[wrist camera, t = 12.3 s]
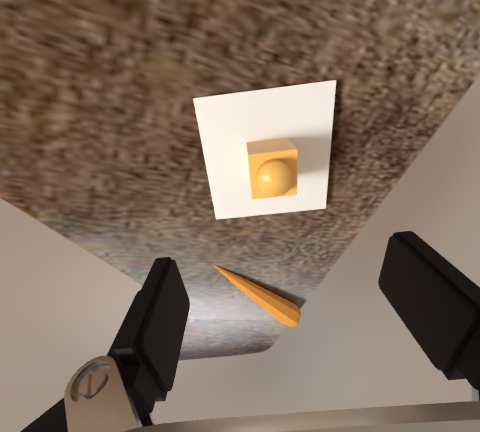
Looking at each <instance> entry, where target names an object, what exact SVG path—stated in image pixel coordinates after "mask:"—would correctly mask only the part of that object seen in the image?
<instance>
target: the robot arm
mask: <svg viewBox="0 0 480 432" xmlns="http://www.w3.org/2000/svg"><path fill="white" fill-rule="evenodd" d="M378 283H379V287H380V289H381V291H382V292H383V294H384V295H385V297H386V298H387V299H388V301H389V302H390V304H391V305H392V307H393V308H394V309H395V311H396V312H397V314H398V315H399V317H400V318H401V319H402V321H403V322H404V324H405V325H406V327H407V328H408V329H409V331H410V332H411V334H412V335H413V337H414V338H415V339H416V341H417V342H418V344H419V345H420V347H421V348H422V349H423V351H424V352H425V354H426V355H427V357H428V358H429V359H430V361H431V362H432V364H433V365H434V366H435V367H436V368H437V369H438V370H441V371H442V372H443V374H444V375H445V376H446V378H447V379H448V380H456V379H465V378H466V379H467V380H468V382H469V383H470V384H471V385H472V402H454V403H438V404H422V405H406V406H390V407H375V408H361V409H345V410H330V411H316V412H303V413H288V414H274V415H260V416H247V417H232V418H219V419H206V420H196V421H185V422H174V423H164V424H158V425H156V424H155V421H154V419H153V417H152V414H151V412H152V411H153V408H154V404H155V402H156V401H165V400H166V396H167V391H170V390H171V389H172V387H173V382H174V378H175V373H176V368H177V363H178V359H179V354H180V350H181V345H182V340H183V336H184V331H185V326H186V321H187V317H188V312H189V307H190V302H189V298H188V295H187V292H186V289H185V287H184V284H183V281H182V278H181V275H180V273H179V270H178V267H177V264H176V261H175V260H171V258H170V257H164V258H157V259H155V261H154V263H153V265H152V268H151V270H150V272H149V274H148V276H147V278H146V280H145V283H144V285H143V287H142V289H141V290H140V291H138V292H137V294H136V296H135V298H134V300H133V302H132V304H131V306H130V308H129V310H128V312H127V315H126V317H125V319H124V321H123V323H122V325H121V327H120V329H119V331H118V333H117V336H116V337H115V340H114V342H113V344H112V346H111V348H110V350H109V352H108V354H107V356H100V357H97V358H94V359H92V360H90V361H88V362H87V363H86V364H84V365H83V366H82V367H80V368H79V369H78V370H77V372H76V373H75V374H74V375H73V376H72V378H71V379H70V381H69V383H68V385H67V387H66V390H65V395H64V398H63V399H61V400H60V401H59V402H58V403H56V404H55V405H54V406H53V407H51V408H50V409H49V410H47V411H46V412H45V413H44V414H42V415H41V416H40V417H39V418H37V419H36V420H35V421H33V422H32V423H31V424H30V425H28V426H27V427H26V428H25V429H23V430H22V431H21V432H480V287H478V286H477V285H476V284H475V283H473V282H472V281H471V280H470V279H469V278H467V277H466V276H465V275H464V274H463V273H462V272H460V271H459V270H458V269H457V268H456V267H454V266H453V265H452V264H451V263H450V262H448V261H447V260H446V259H445V258H444V257H442V256H441V255H440V254H439V253H438V252H436V251H435V250H434V249H433V248H432V247H430V246H429V245H428V244H427V243H426V242H425V241H423V240H422V239H421V238H419V236H417V235H416V234H415V233H414V232H412V231H405V232H396V233H394V234H393V236H391V237H390V238H389V241H388V245H387V249H386V253H385V257H384V262H383V265H382V269H381V273H380V277H379V281H378Z"/></svg>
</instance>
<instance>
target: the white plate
mask: <svg viewBox="0 0 480 432" xmlns="http://www.w3.org/2000/svg"><path fill="white" fill-rule="evenodd" d="M335 89H336V80H332V81H324V82H316V83H308V84H301V85H293V86H285V87H277V88H270V89H262V90H254V91H246V92H239V93H231V94H223V95H215V96H207V97H200V98H193V100H194V105H195V110H196V116H197V121H198V126H199V132H200V137H201V142H202V147H203V153H204V158H205V163H206V168H207V174H208V179H209V184H210V189H211V195H212V200H213V205H214V210H215V216H216V219H225V218H235V217H245V216H255V215H265V214H275V213H285V212H295V211H305V210H315V209H325V208H326V198H327V186H328V174H329V162H330V150H331V137H332V125H333V113H334V101H335ZM280 138H287V139H288V140H289V141H290V142H291V143H292V144H293V145H294V146H295V147H296V148H297V149H298V159H297V195H288V196H279V197H270V198H261V199H252V193H251V185H250V176H249V166H248V156H247V146H246V143H247V142H255V141H263V140H271V139H280Z"/></svg>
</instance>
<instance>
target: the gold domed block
mask: <svg viewBox="0 0 480 432" xmlns="http://www.w3.org/2000/svg"><path fill="white" fill-rule="evenodd" d="M246 146H247V156H248V166H249V176H250V185H251V193H252V199H261V198H270V197H279V196H288V195H297V159H298V149H297V148H296V147H295V146H294V145H293V144H292V143H291V142H290V141H289V140H288V139H287V138H280V139H271V140H263V141H255V142H247V143H246Z"/></svg>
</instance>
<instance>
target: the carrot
mask: <svg viewBox="0 0 480 432" xmlns="http://www.w3.org/2000/svg"><path fill="white" fill-rule="evenodd" d="M214 266H215V267H216V268H217V269H218V270H219V271H220V272H221V273H222V274H224V275H225V276H226V277H227V278H228V279H229V280H230V281H231V282H232V283H233V284H234V285H236V286H237V287H238V288H239V289H240V290H242V291H243V292H244V293H245V294H247V295H248V296H249V297H250V298H251V299H253V300H254V301H255V302H256V303H258V304H259V305H260V306H261V307H262V308H264V309H265V310H266V311H267V312H268V313H270V314H271V315H272V316H273V317H275V318H276V319H277V320H278V321H279V322H281V323H282V324H284V325H286V326H290V327H293V326H295V325H296V324H298V322H299V320H300V317H301V313H300V309H299V308H298V307H297V305H296V304H294V303H292V302H290V301H288V300H286V299H284V298H282V297H280V296H278V295H276V294H274V293H272V292H270V291H268V290H266V289H264V288H262V287H260V286H258V285H256V284H254V283H253V282H251V281H249V280H247V279H245V278H243V277H241V276H239V275H236V274H234V273H232V272H229V271H227V270H225V269H223V268H220V267H218V266H216V265H214Z"/></svg>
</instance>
